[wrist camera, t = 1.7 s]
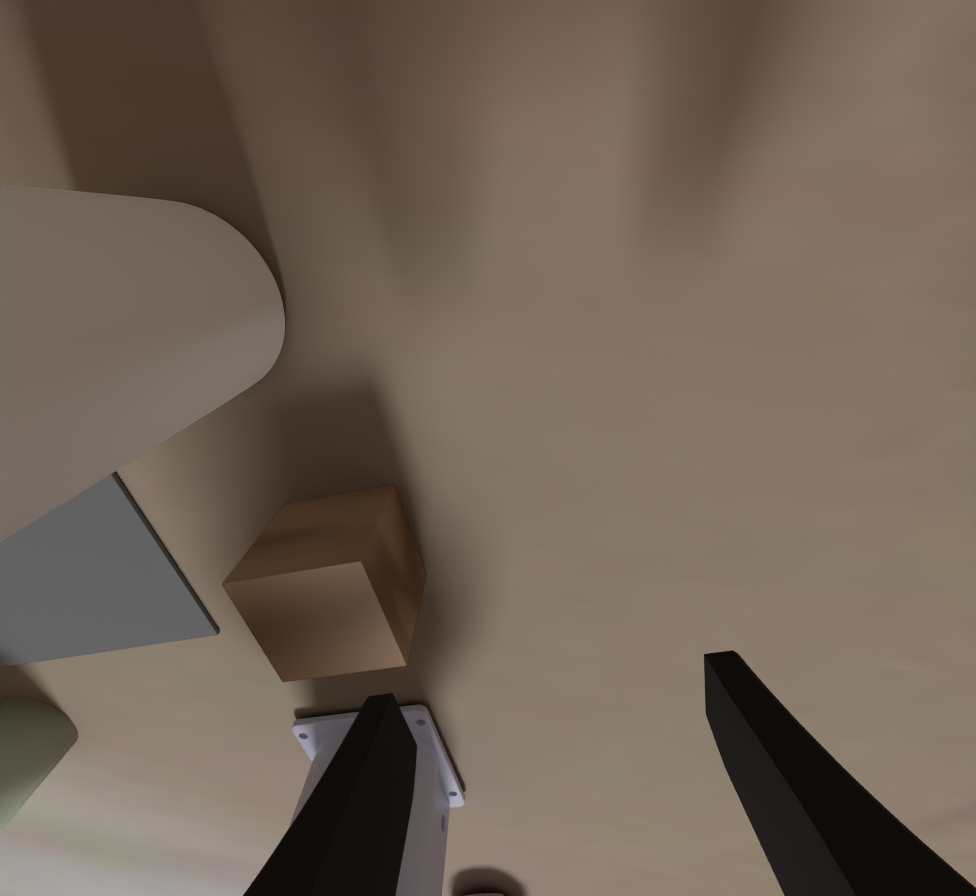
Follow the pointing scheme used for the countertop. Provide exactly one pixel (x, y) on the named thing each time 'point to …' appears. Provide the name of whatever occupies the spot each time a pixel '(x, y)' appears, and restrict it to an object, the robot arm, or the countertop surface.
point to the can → (117, 334)
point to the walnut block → (332, 585)
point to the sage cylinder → (29, 749)
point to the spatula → (486, 894)
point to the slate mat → (92, 583)
